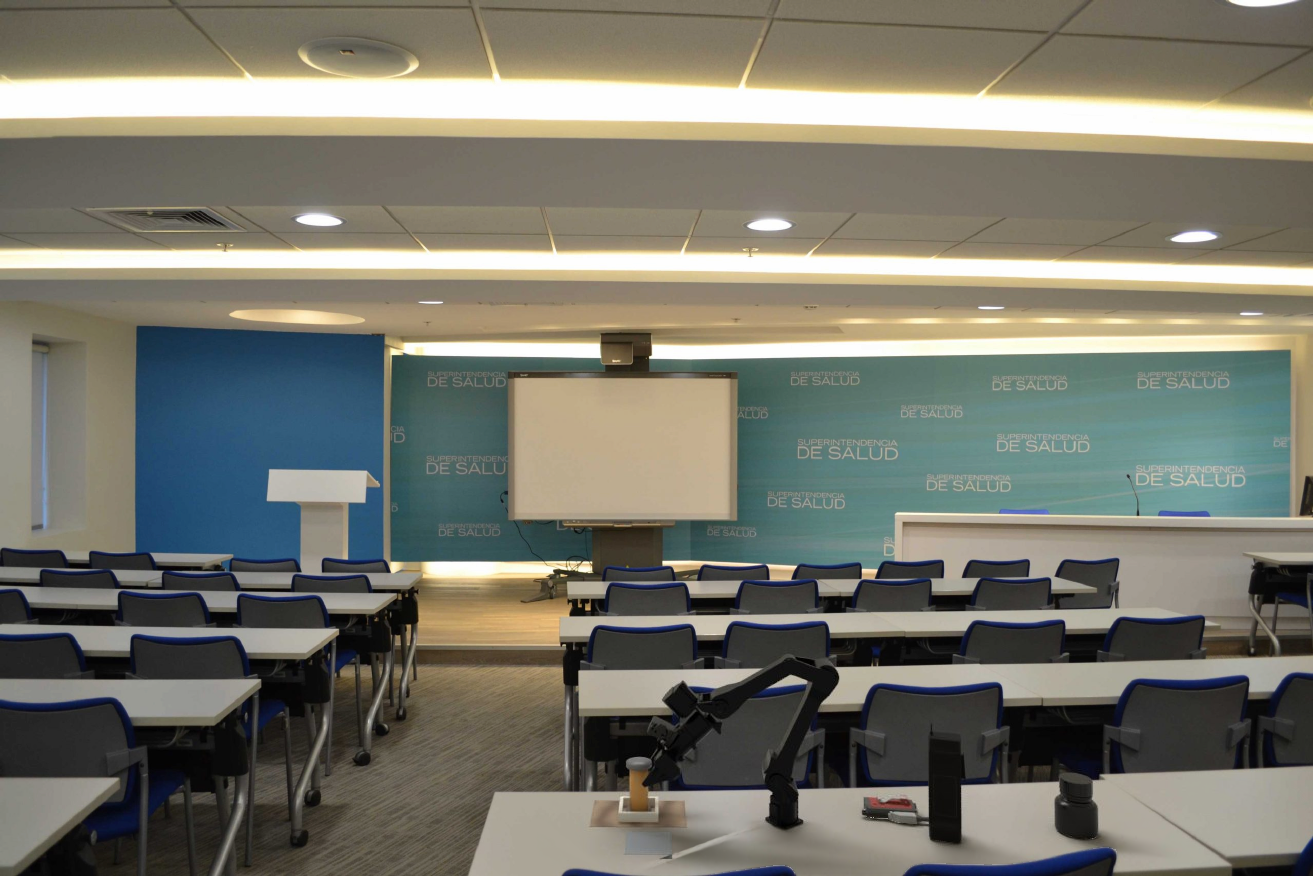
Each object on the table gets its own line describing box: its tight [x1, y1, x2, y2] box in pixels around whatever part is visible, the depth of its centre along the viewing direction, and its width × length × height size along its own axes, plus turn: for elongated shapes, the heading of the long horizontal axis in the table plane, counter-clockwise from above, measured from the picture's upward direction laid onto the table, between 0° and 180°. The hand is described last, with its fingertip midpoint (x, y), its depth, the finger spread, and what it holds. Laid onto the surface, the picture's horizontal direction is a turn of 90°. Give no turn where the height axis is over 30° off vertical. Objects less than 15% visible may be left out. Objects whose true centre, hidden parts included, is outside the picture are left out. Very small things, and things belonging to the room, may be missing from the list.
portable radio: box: [927, 723, 967, 845], centre depth 179 cm, size 8×6×25 cm
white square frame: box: [618, 795, 659, 822], centre depth 188 cm, size 9×9×2 cm
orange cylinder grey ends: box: [625, 756, 652, 812], centre depth 188 cm, size 6×6×12 cm
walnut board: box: [589, 799, 687, 828], centre depth 188 cm, size 22×14×1 cm, turn 90°
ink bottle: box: [1053, 772, 1099, 840], centre depth 182 cm, size 10×9×12 cm
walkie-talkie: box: [861, 794, 929, 825], centre depth 189 cm, size 9×4×20 cm
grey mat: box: [624, 831, 673, 860], centre depth 173 cm, size 10×10×1 cm
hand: (644, 777), depth 188 cm, fingers open, 9 cm apart
